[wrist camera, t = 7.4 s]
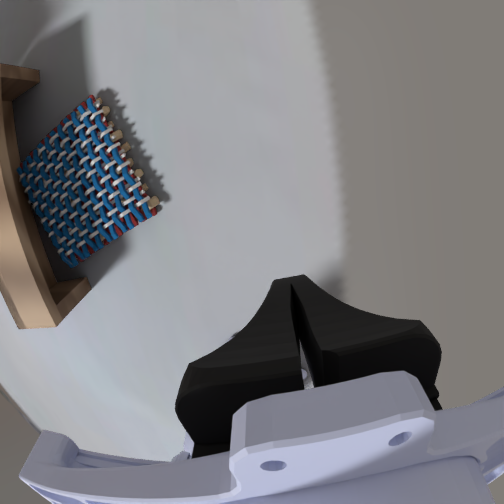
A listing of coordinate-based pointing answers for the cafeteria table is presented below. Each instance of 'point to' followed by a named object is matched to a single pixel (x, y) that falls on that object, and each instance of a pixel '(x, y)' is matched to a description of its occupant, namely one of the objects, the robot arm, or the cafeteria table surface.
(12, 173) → the curved wooden frame
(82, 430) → the cafeteria table surface
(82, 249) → the woven mat
